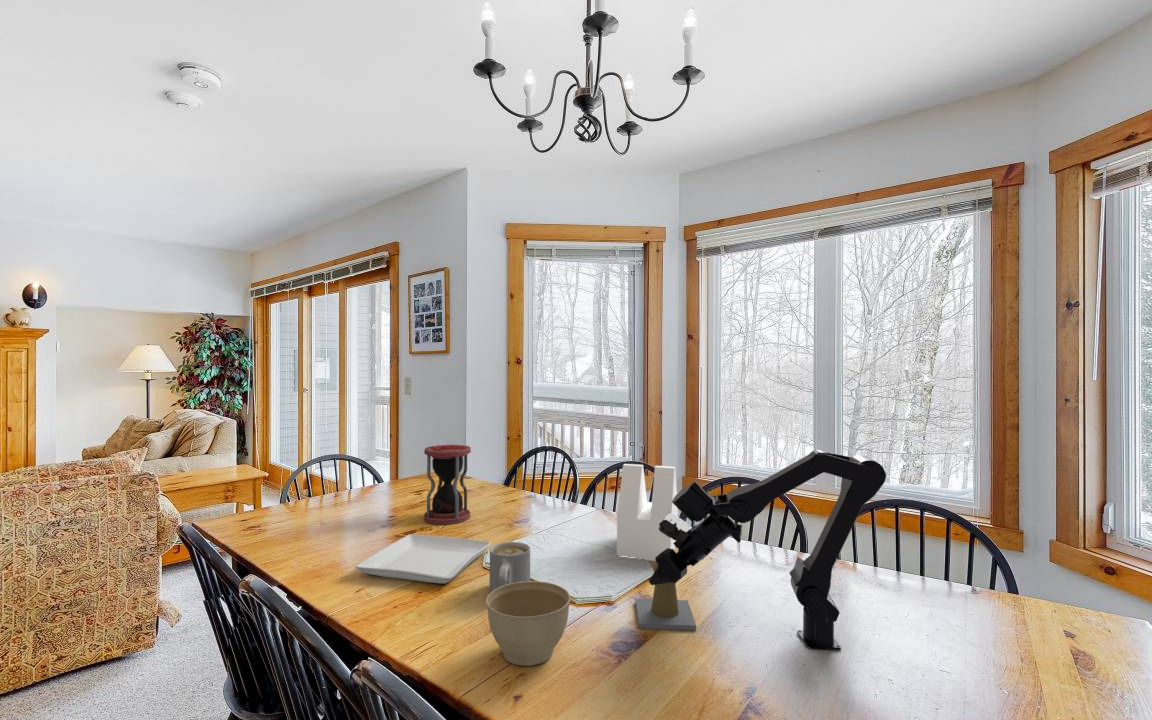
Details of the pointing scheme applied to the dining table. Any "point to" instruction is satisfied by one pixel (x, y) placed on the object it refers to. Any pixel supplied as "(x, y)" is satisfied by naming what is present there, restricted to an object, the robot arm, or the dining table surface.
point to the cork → (664, 599)
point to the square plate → (424, 558)
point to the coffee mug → (509, 564)
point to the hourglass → (447, 484)
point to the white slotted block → (644, 512)
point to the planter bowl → (528, 620)
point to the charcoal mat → (655, 622)
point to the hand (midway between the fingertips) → (659, 575)
